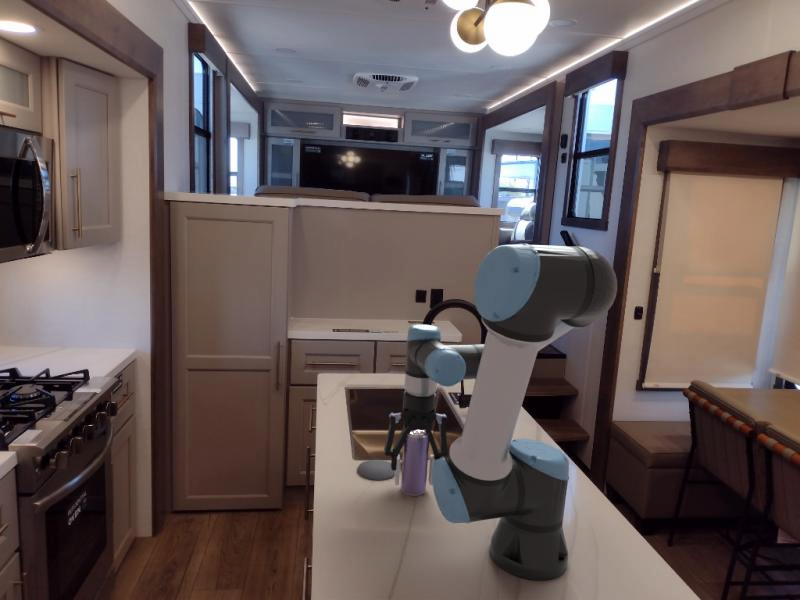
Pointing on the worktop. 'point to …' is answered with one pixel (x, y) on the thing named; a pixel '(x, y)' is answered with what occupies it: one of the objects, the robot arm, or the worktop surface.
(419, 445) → the beverage can
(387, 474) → the coaster
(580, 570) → the worktop surface
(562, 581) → the worktop surface
